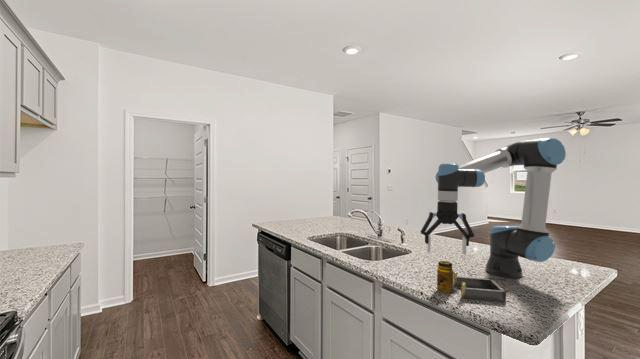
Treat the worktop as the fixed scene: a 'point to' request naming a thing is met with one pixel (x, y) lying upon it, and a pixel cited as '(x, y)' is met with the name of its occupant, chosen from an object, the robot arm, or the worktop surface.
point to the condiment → (445, 278)
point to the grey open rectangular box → (479, 289)
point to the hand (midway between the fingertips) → (446, 252)
